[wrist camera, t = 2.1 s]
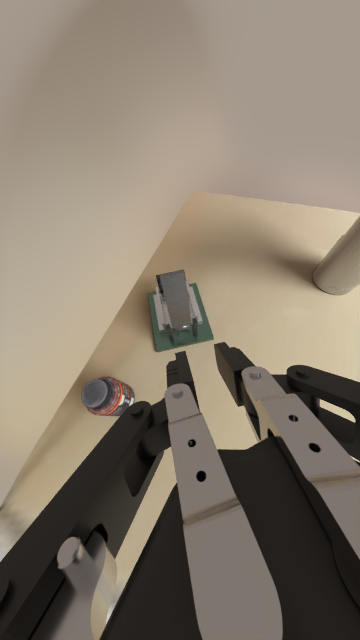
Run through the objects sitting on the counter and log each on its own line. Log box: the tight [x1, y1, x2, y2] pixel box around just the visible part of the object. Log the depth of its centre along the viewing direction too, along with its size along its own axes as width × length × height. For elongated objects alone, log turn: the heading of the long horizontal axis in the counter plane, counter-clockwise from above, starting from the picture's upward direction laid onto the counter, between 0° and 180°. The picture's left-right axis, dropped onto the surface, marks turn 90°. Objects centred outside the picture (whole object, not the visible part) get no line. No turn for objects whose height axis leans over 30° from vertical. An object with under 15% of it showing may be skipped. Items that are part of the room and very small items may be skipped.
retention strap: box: [160, 270, 192, 332], centre depth 34 cm, size 1×4×13 cm, turn 102°
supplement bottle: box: [82, 377, 135, 416], centre depth 32 cm, size 6×6×11 cm
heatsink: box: [148, 270, 214, 352], centre depth 42 cm, size 16×13×8 cm
